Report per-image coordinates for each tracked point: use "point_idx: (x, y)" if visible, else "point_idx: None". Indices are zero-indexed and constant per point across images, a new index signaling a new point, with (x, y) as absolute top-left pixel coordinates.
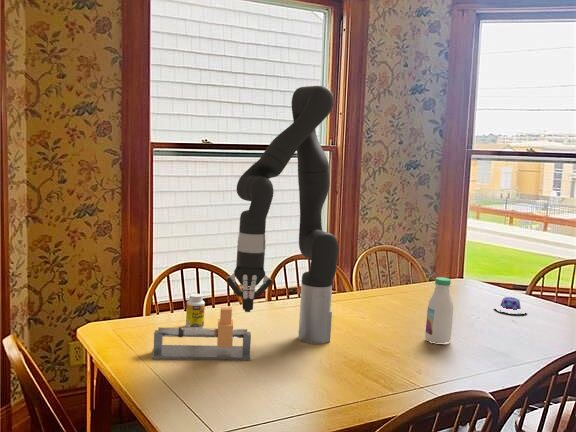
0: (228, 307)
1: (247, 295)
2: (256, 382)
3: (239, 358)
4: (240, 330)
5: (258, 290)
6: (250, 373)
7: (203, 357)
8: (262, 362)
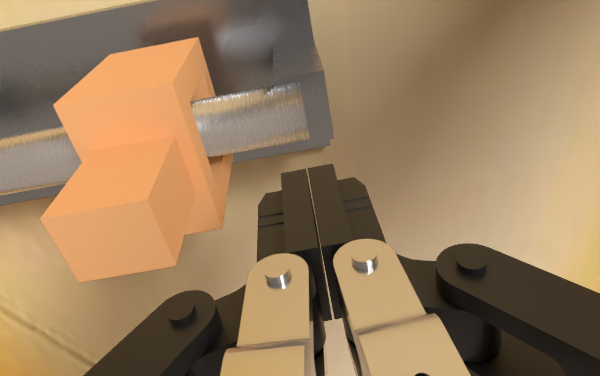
0: (119, 214)
1: (325, 363)
2: None
3: (278, 152)
4: (262, 143)
5: (495, 315)
6: None
7: None
8: (384, 148)
